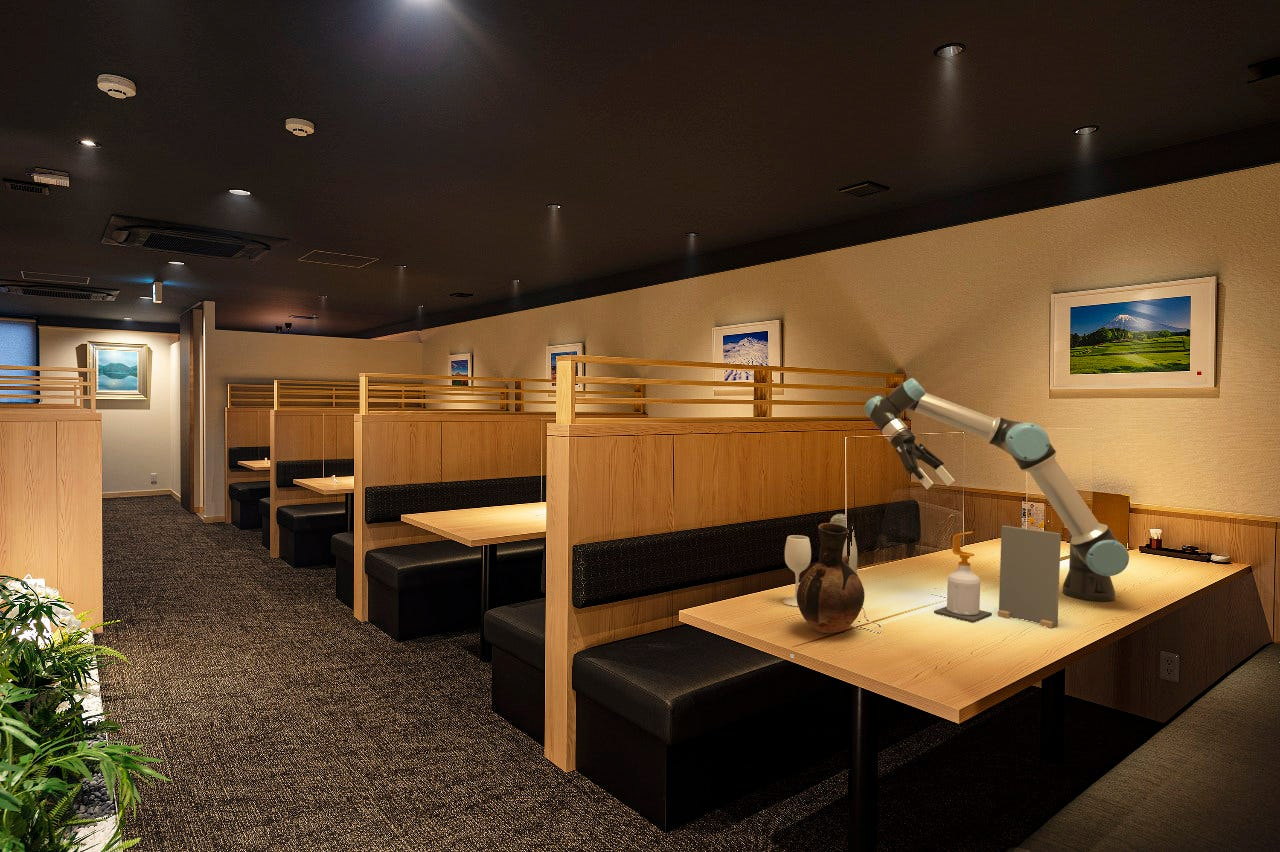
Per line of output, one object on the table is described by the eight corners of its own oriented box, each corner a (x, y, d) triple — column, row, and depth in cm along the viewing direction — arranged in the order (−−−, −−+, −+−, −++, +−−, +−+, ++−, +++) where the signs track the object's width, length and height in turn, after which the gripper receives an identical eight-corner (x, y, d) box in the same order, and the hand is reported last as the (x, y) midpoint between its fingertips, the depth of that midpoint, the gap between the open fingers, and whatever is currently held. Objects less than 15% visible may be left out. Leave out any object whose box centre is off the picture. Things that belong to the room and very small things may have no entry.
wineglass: (777, 602, 235) (778, 537, 234) (792, 597, 241) (794, 533, 240) (800, 608, 229) (802, 541, 228) (816, 603, 235) (817, 537, 234)
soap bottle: (970, 617, 219) (972, 535, 218) (941, 610, 226) (943, 530, 225) (984, 612, 225) (987, 531, 223) (955, 605, 232) (958, 527, 230)
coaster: (953, 606, 234) (953, 603, 234) (991, 615, 224) (991, 612, 224) (933, 613, 226) (934, 610, 226) (973, 622, 217) (973, 620, 217)
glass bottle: (824, 595, 245) (826, 510, 243) (856, 598, 242) (858, 512, 240) (822, 603, 235) (824, 515, 234) (855, 606, 232) (858, 517, 231)
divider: (1003, 612, 227) (1006, 525, 226) (1059, 625, 215) (1063, 532, 214) (996, 615, 224) (999, 526, 223) (1052, 628, 212) (1056, 534, 211)
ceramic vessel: (822, 616, 222) (825, 516, 220) (877, 629, 209) (879, 524, 208) (781, 631, 207) (784, 524, 206) (837, 647, 194) (840, 533, 193)
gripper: (911, 441, 258) (951, 489, 247) (871, 444, 242) (912, 495, 231) (926, 427, 254) (967, 474, 243) (886, 428, 237) (929, 480, 227)
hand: (941, 485), depth 237 cm, fingers open, 13 cm apart
